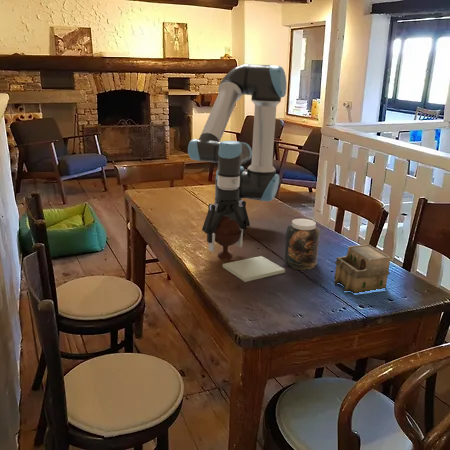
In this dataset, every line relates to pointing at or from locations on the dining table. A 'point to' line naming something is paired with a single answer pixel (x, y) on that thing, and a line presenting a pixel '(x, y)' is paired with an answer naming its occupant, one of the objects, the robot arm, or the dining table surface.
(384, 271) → the miniature house
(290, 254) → the jar
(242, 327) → the dining table surface
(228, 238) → the ice cream bowl
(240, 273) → the board
